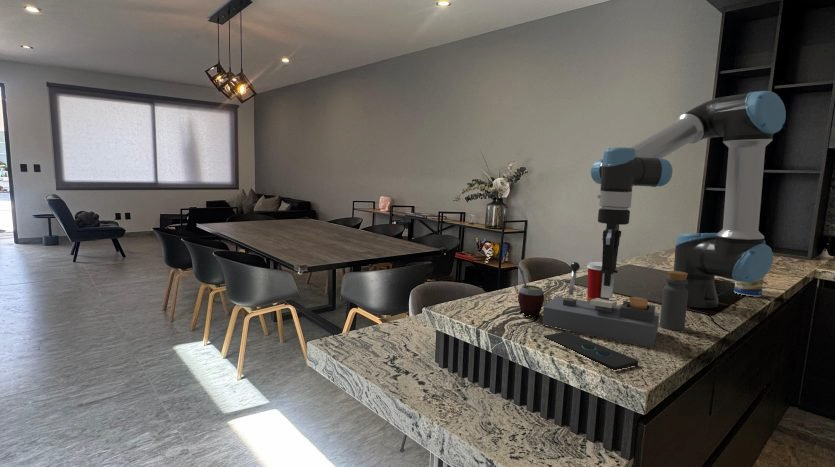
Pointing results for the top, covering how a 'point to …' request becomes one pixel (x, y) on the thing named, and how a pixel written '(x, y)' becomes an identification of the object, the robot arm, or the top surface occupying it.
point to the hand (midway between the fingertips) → (606, 297)
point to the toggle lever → (573, 276)
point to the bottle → (674, 301)
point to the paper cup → (594, 281)
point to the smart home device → (593, 351)
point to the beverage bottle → (749, 287)
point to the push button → (638, 303)
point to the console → (604, 320)
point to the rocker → (603, 302)
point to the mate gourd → (530, 298)
